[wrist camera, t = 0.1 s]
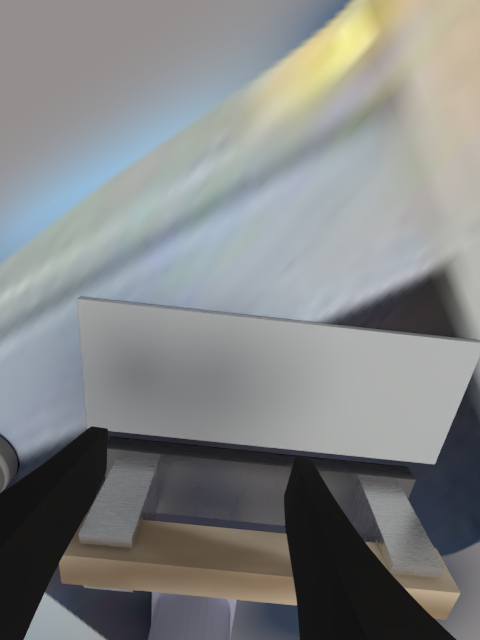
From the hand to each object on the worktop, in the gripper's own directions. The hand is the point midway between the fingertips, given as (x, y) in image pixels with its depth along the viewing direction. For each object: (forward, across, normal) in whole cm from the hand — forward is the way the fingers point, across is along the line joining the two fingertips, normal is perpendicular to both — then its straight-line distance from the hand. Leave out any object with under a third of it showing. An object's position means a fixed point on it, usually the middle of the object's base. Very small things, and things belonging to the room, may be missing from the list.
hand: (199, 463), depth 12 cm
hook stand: (+10, -4, +11) cm, 16 cm away
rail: (+5, -4, +11) cm, 13 cm away
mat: (+10, -4, +2) cm, 11 cm away
